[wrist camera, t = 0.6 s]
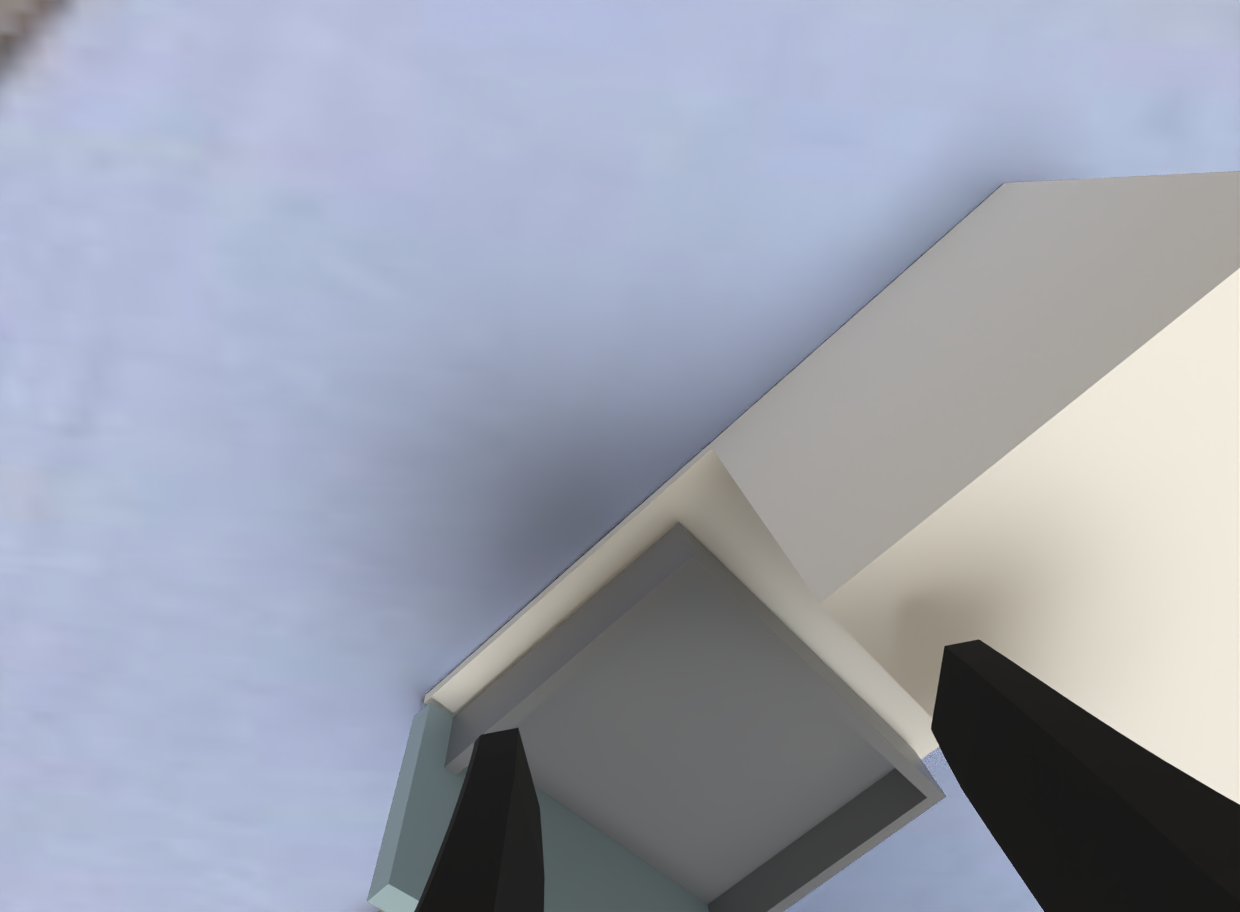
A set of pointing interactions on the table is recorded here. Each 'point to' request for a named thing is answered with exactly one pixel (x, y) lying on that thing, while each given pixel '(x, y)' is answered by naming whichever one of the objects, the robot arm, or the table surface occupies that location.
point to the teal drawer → (669, 754)
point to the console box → (995, 474)
